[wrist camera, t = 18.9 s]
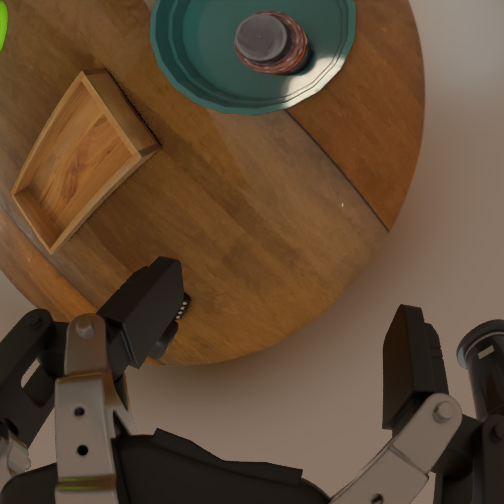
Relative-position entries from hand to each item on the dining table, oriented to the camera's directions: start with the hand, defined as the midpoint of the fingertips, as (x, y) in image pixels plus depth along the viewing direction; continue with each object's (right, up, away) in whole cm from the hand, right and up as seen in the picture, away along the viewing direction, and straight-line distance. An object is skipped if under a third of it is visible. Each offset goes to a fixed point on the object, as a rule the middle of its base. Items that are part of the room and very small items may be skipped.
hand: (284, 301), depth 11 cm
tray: (-29, +16, +33) cm, 46 cm away
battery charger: (-13, -7, +42) cm, 45 cm away
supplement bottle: (+2, +23, +17) cm, 29 cm away
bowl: (0, +27, +16) cm, 31 cm away
